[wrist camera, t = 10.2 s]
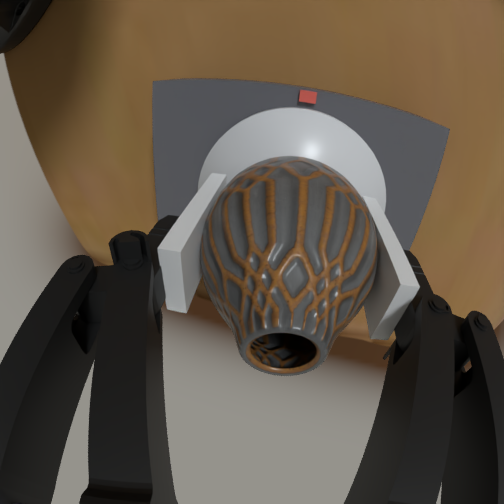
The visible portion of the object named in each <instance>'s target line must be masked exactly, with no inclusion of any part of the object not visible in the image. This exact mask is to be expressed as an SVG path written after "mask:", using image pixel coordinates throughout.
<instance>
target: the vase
mask: <svg viewBox="0 0 504 504" xmlns="http://www.w3.org/2000/svg"><path fill="white" fill-rule="evenodd" d="M377 255H378V252H377V237H376V231H375V227H374V223H373V220H372V217H371V215H370V212H369V210H368V208H367V206H366V204H365V202H364V200H363V199H362V197H361V195H360V194H359V193H358V191H357V190H356V189H355V187H354V186H353V185H352V184H351V183H350V182H349V181H348V180H347V179H346V178H345V177H344V176H343V175H342V174H340V173H339V172H338V171H336V170H335V169H333V168H331V167H330V166H328V165H326V164H324V163H322V162H319V161H316V160H313V159H310V158H305V157H299V156H280V157H273V158H269V159H266V160H262V161H260V162H257V163H255V164H253V165H251V166H249V167H247V168H246V169H244V170H243V171H241V172H240V173H238V174H237V175H236V176H235V177H234V178H233V179H232V180H231V181H230V182H229V183H228V184H227V185H226V186H225V187H224V188H223V190H222V191H221V192H220V194H219V195H218V197H217V198H216V200H215V201H214V203H213V205H212V207H211V209H210V211H209V213H208V216H207V218H206V221H205V225H204V228H203V233H202V239H201V269H202V275H203V280H204V284H205V287H206V290H207V292H208V294H209V297H210V299H211V301H212V302H213V304H214V306H215V307H216V309H217V310H218V312H219V313H220V315H221V316H222V318H223V319H224V320H225V322H226V323H227V325H228V326H229V327H230V329H231V330H232V332H233V334H234V336H235V339H236V343H237V347H238V350H239V352H240V355H241V357H242V358H243V360H244V361H245V362H246V363H247V364H249V365H250V366H251V367H253V368H255V369H257V370H259V371H261V372H264V373H268V374H272V375H281V376H291V375H299V374H303V373H307V372H309V371H312V370H314V369H315V368H317V367H318V366H320V365H321V364H322V363H323V362H324V360H325V359H326V357H327V355H328V353H329V351H330V349H331V347H332V344H333V342H334V340H335V339H336V337H337V336H338V335H339V334H340V333H341V332H342V331H343V330H344V328H345V327H346V326H347V325H348V324H349V323H350V322H351V321H352V319H353V318H354V317H355V316H356V315H357V313H358V312H359V311H360V309H361V308H362V306H363V305H364V303H365V301H366V299H367V298H368V295H369V293H370V291H371V288H372V285H373V282H374V278H375V273H376V267H377Z"/></svg>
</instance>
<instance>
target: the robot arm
mask: <svg viewBox="0 0 504 504" xmlns="http://www.w3.org/2000/svg"><path fill="white" fill-rule="evenodd" d="M50 2H51V0H0V53H4V52H7V51H9V50H11V49H12V48H14V47H15V46H16V45H18V44H19V43H20V42H21V41H22V40H23V39H24V38H25V37H26V36H27V35H28V33H29V32H30V31H31V30H32V29H33V27H34V26H35V25H36V23H37V22H38V21H39V19H40V18H41V16H42V15H43V13H44V12H45V10H46V9H47V7H48V5H49V4H50ZM226 181H227V175H226V174H216V173H212V174H211V175H210V176H209V177H208V179H207V180H206V181H205V183H204V184H203V185H202V187H201V188H200V189H199V191H198V192H197V193H196V195H195V196H194V197H193V199H192V200H191V201H190V203H189V204H188V206H187V207H186V208H185V210H184V211H183V212H182V214H181V215H180V216H174V215H167V216H165V217H164V218H162V219H160V220H159V221H158V222H157V223H156V225H155V226H154V228H152V230H151V231H150V232H149V234H148V235H146V234H145V233H144V232H141V231H134V230H131V231H125V232H122V233H119V234H117V235H116V236H114V237H113V238H112V239H111V240H110V242H109V247H110V251H111V255H112V259H113V263H114V265H110V266H96V267H95V266H94V263H93V260H92V259H91V258H90V257H89V256H86V255H77V256H74V257H72V258H70V259H68V260H66V261H65V262H64V263H63V264H62V265H61V266H60V268H59V269H58V270H57V272H56V273H55V275H54V276H53V277H52V279H51V280H50V282H49V283H48V285H47V286H46V287H45V289H44V291H43V292H42V293H41V295H40V296H39V298H38V299H37V301H36V302H35V304H34V306H33V307H32V309H31V310H30V312H29V313H28V315H27V317H26V319H25V320H24V322H23V323H22V325H21V327H20V328H19V330H18V332H17V334H16V336H15V337H14V339H13V341H12V343H11V345H10V346H9V348H8V350H7V352H6V354H5V356H4V358H3V360H2V362H1V364H0V504H51V501H52V497H53V494H54V490H55V485H56V480H57V476H58V471H59V467H60V463H61V459H62V455H63V451H64V448H65V444H66V440H67V437H68V434H69V430H70V427H71V424H72V421H73V417H74V414H75V411H76V408H77V405H78V402H79V399H80V397H81V394H82V391H83V388H84V385H85V383H86V380H87V377H88V374H89V372H90V369H91V367H92V364H93V362H94V370H93V377H92V387H91V398H90V412H89V435H88V438H89V439H88V466H89V484H88V487H87V489H86V490H85V491H84V492H83V494H82V495H81V498H80V502H79V504H178V502H177V500H176V496H175V492H174V485H173V478H172V471H171V464H170V457H169V447H168V437H167V427H166V416H165V415H166V414H165V402H164V401H165V400H164V381H163V355H162V354H163V349H162V312H161V307H162V305H163V303H164V301H165V300H166V305H167V309H168V310H173V311H178V312H182V313H187V311H188V309H189V306H190V304H191V301H192V299H193V296H194V294H195V291H196V289H197V286H198V284H199V282H200V279H201V277H202V269H201V239H202V233H203V228H204V225H205V221H206V218H207V216H208V213H209V211H210V209H211V207H212V205H213V203H214V201H215V200H216V198H217V197H218V195H219V194H220V192H221V191H222V190H223V188H224V187H225V186H226ZM362 199H363V200H364V202H365V204H366V206H367V208H368V210H369V212H370V215H371V217H372V220H373V223H374V227H375V231H376V237H377V252H378V255H377V267H376V273H375V278H374V282H373V285H372V288H371V291H370V293H369V295H368V298H367V299H366V301H365V303H364V308H365V313H366V319H367V324H368V329H369V335H370V339H381V340H388V339H389V337H390V336H391V334H392V333H393V331H394V330H395V334H396V339H395V341H394V342H393V344H392V345H391V347H390V348H389V350H388V351H387V352H386V354H385V355H384V357H383V359H384V360H385V359H386V358H387V357H388V355H390V356H389V361H388V367H387V371H386V376H385V381H384V385H383V390H382V394H381V398H380V402H379V406H378V409H377V413H376V417H375V420H374V424H373V427H372V430H371V434H370V437H369V440H368V443H367V446H366V449H365V452H364V455H363V458H362V460H361V463H360V466H359V469H358V472H357V474H356V476H355V479H354V482H353V484H352V486H351V489H350V491H349V493H348V496H347V498H346V500H345V502H344V504H436V501H437V498H438V494H439V490H440V486H441V482H442V491H441V504H504V359H503V355H502V352H501V350H500V346H499V343H498V341H497V338H496V335H495V332H494V330H493V327H492V325H491V323H490V321H489V320H488V318H487V317H486V316H485V315H483V314H482V313H480V312H478V311H471V312H470V313H469V314H468V315H467V317H466V318H465V319H464V318H461V317H459V316H456V315H454V314H452V311H451V308H450V306H449V305H448V303H447V302H446V301H445V300H444V299H443V298H441V297H440V296H438V295H435V294H433V292H432V289H431V287H430V285H429V283H428V281H427V278H426V276H425V275H424V272H423V270H422V268H421V266H420V264H419V262H418V260H417V258H416V257H415V256H414V255H413V254H412V253H411V252H410V251H408V250H403V249H402V247H401V245H400V243H399V241H398V239H397V237H396V235H395V233H394V231H393V229H392V227H391V225H390V223H389V221H388V220H387V218H386V216H385V214H384V212H383V210H382V209H381V207H380V205H379V203H378V201H377V200H376V199H375V198H370V197H366V196H362ZM75 314H76V315H75ZM74 316H75V317H74ZM94 359H95V361H94ZM469 361H471V365H472V367H471V368H470V369H469V370H468V371H467V372H466V371H465V368H464V366H465V365H466V364H467V363H468V362H469Z"/></svg>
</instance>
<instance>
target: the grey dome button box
mask: <svg viewBox="0 0 504 504" xmlns="http://www.w3.org/2000/svg"><path fill="white" fill-rule="evenodd" d="M449 131H450V129H448V128H446V127H444V126H442V125H439V124H437V123H435V122H433V121H430V120H428V119H425V118H423V117H420V116H418V115H415V114H412V113H409V112H406V111H403V110H400V109H397V108H394V107H390V106H387V105H384V104H380V103H376V102H373V101H369V100H365V99H361V98H357V97H353V96H349V95H345V94H340V93H335V92H330V91H325V90H320V89H314V88H309V87H302V86H296V85H289V84H281V83H272V82H263V81H251V80H236V79H206V78H192V79H171V80H161V81H153V154H154V174H155V189H156V202H157V213H158V221H159V220H160V219H162V218H164V217H165V216H167V215H174V216H180V215H181V214H182V212H183V211H184V210H185V208H186V207H187V206H188V204H189V203H190V201H191V200H192V199H193V197H194V196H195V195H196V193H197V192H198V191H199V189H200V188H201V187H202V185H203V184H204V183H205V181H206V180H207V179H208V177H209V176H210V175H211V174H212V173H216V174H226V175H227V181H226V185H227V184H228V183H229V182H230V181H231V180H232V179H233V178H234V177H235V176H236V175H237V174H238V173H240V172H241V171H243V170H244V169H246V168H247V167H249V166H251V165H253V164H255V163H257V162H260V161H262V160H266V159H269V158H273V157H280V156H299V157H305V158H310V159H313V160H316V161H319V162H322V163H324V164H326V165H328V166H330V167H331V168H333V169H335V170H336V171H338V172H339V173H340V174H342V175H343V176H344V177H345V178H346V179H347V180H348V181H349V182H350V183H351V184H352V185H353V186H354V187H355V189H356V190H357V191H358V193H359V194H360V195H361V197H362V196H366V197H370V198H375V199H376V200H377V201H378V203H379V205H380V207H381V209H382V210H383V212H384V214H385V216H386V218H387V220H388V221H389V223H390V225H391V227H392V229H393V231H394V233H395V235H396V237H397V239H398V241H399V243H400V245H401V247H402V249H403V250H408V251H409V249H410V247H411V245H412V242H413V240H414V238H415V235H416V233H417V230H418V228H419V225H420V223H421V220H422V218H423V215H424V212H425V210H426V207H427V204H428V201H429V199H430V196H431V193H432V190H433V187H434V184H435V181H436V178H437V174H438V171H439V168H440V164H441V161H442V158H443V154H444V150H445V147H446V143H447V139H448V135H449Z"/></svg>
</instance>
